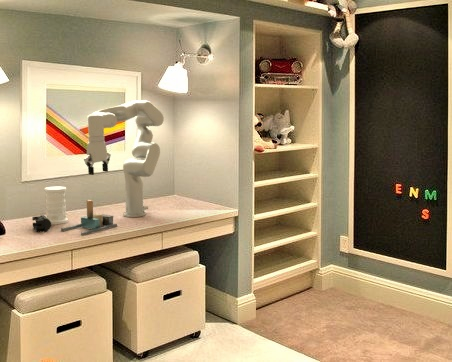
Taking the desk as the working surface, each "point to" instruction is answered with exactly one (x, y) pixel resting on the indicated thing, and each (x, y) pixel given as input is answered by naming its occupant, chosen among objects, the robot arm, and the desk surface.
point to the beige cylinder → (99, 216)
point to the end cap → (41, 223)
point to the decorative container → (56, 204)
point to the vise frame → (106, 223)
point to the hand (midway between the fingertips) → (98, 172)
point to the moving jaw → (90, 218)
